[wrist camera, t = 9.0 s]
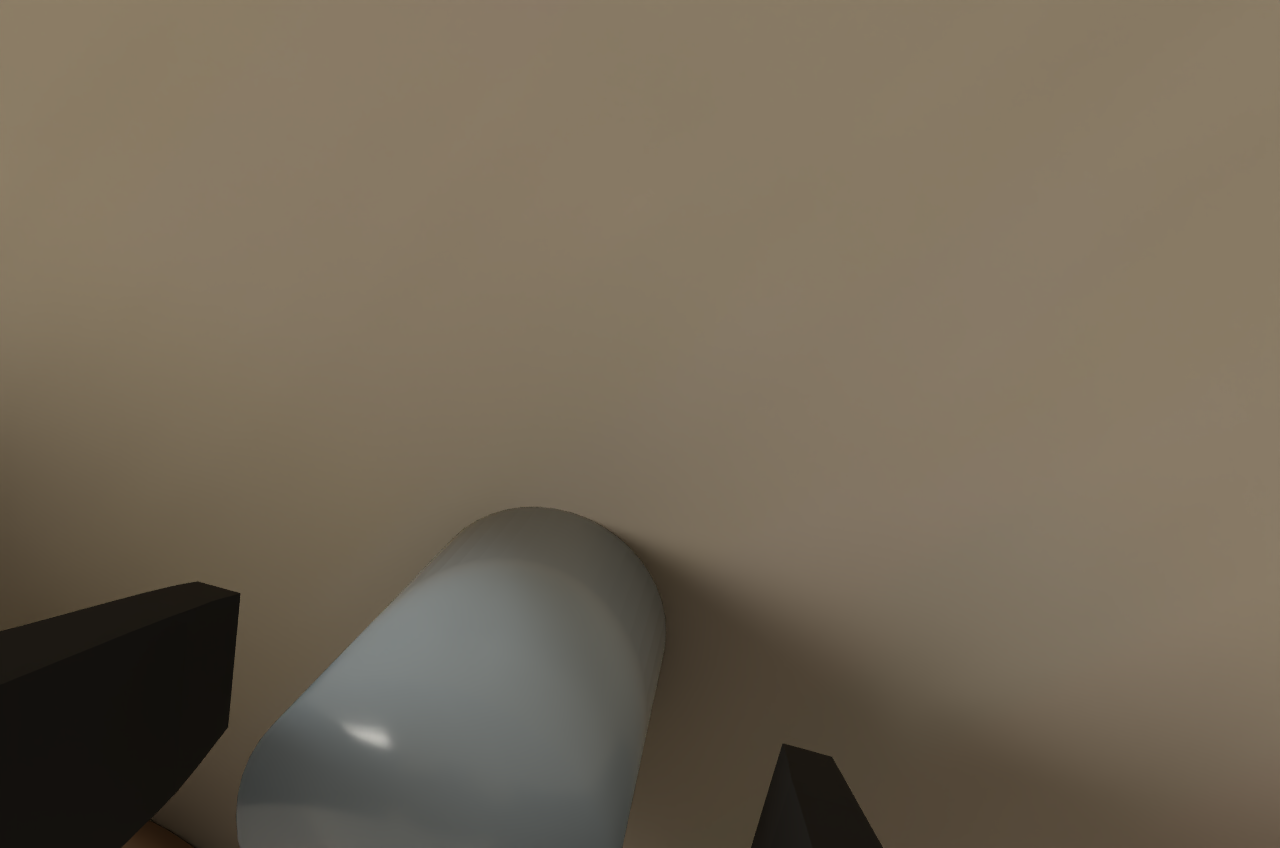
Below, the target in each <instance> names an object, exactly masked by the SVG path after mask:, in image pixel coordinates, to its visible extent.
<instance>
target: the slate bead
mask: <svg viewBox="0 0 1280 848" xmlns="http://www.w3.org/2000/svg"><path fill="white" fill-rule="evenodd" d="M665 641H666V623H665V614H664V610H663V605H662V601H661V598H660V595H659V593H658V590H657V587H656V585H655V583H654V581H653V579H652V577H651V575H650V573H649V572H648V570H647V569H646V567H645V566H644V564H643V563H642V562H641V560H640V559H639V558H638V557H637V555H636V554H635V553H634V552H633V551H632V550H631V549H630V548H629V546H627V545H626V544H625V543H624V542H623V541H622V540H620V539H619V538H618V537H617V536H616V535H614V534H613V533H611V532H610V531H608V530H607V529H606V528H604V527H603V526H601V525H599V524H597V523H595V522H593V521H591V520H589V519H587V518H585V517H582V516H579V515H576V514H574V513H571V512H567V511H562V510H558V509H553V508H543V507H520V508H514V509H508V510H503V511H500V512H497V513H493V514H490V515H488V516H486V517H484V518H481V519H479V520H477V521H475V522H474V523H472V524H471V525H469V526H467V527H466V528H464V529H463V530H462V531H461V532H460V533H458V534H457V535H456V536H455V537H454V538H453V539H452V540H451V541H450V542H449V543H448V544H447V545H446V546H445V547H444V548H443V549H442V550H441V551H440V552H439V553H438V554H437V555H436V556H435V557H434V558H433V559H432V560H431V561H430V562H429V563H428V564H427V566H426V567H425V568H424V569H423V570H422V571H421V572H420V573H419V574H418V575H417V576H416V577H415V578H414V579H413V580H412V581H411V582H410V583H409V584H408V585H407V586H406V587H405V588H404V589H403V590H402V591H401V592H400V593H399V594H398V596H397V597H396V598H395V599H394V600H393V601H392V602H391V603H390V604H389V605H388V606H387V607H386V608H385V609H384V610H383V611H382V612H381V613H380V614H379V615H378V616H377V617H376V618H375V619H374V620H373V621H372V622H371V623H370V625H369V626H368V627H367V628H366V629H365V630H364V631H363V632H362V633H361V634H360V635H359V636H358V637H357V638H356V639H355V640H354V641H353V642H352V643H351V644H350V645H349V646H348V647H347V648H346V649H345V650H344V651H343V652H342V653H341V655H340V656H339V657H338V658H337V659H336V660H335V661H334V662H333V663H332V664H331V665H330V666H329V667H328V668H327V669H326V670H325V671H324V672H323V673H322V674H321V675H320V676H319V677H318V678H317V679H316V680H315V681H314V682H313V684H312V685H311V686H310V687H309V688H308V689H307V690H306V691H305V692H304V693H303V694H302V695H301V696H300V697H299V698H298V699H297V700H296V701H295V702H294V703H293V704H292V705H291V706H290V707H289V708H288V709H287V710H286V711H285V712H284V714H283V715H282V716H281V717H280V718H279V719H278V720H277V721H276V722H275V723H274V724H273V725H272V726H271V727H270V729H269V730H268V731H267V732H266V733H265V734H264V736H263V737H262V738H261V739H260V741H259V743H258V744H257V746H256V747H255V749H254V751H253V752H252V754H251V756H250V758H249V760H248V763H247V765H246V768H245V770H244V773H243V775H242V779H241V783H240V788H239V792H238V798H237V812H236V821H237V835H238V841H239V846H240V848H622V846H623V842H624V837H625V832H626V828H627V823H628V818H629V814H630V809H631V804H632V799H633V795H634V790H635V785H636V781H637V776H638V771H639V767H640V762H641V757H642V753H643V748H644V743H645V739H646V734H647V729H648V725H649V720H650V715H651V711H652V706H653V701H654V697H655V692H656V687H657V682H658V678H659V673H660V668H661V664H662V659H663V654H664V650H665Z"/></svg>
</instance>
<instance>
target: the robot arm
mask: <svg viewBox="0 0 1280 848" xmlns="http://www.w3.org/2000/svg"><path fill="white" fill-rule="evenodd" d="M239 603H240V593H237V592H234V591H230V590H227V589H223V588H219V587H216V586H212V585H208V584H205V583H201V582H192V583H186V584H181V585H176V586H171V587H167V588H163V589H158V590H154V591H150V592H146V593H142V594H138V595H135V596H131V597H127V598H123V599H120V600H116V601H112V602H108V603H105V604H101V605H97V606H94V607H90V608H86V609H83V610H79V611H75V612H71V613H68V614H64V615H60V616H57V617H53V618H49V619H46V620H42V621H38V622H34V623H31V624H27V625H23V626H20V627H16V628H12V629H8V630H4V631H0V848H122V847H123V846H124V845H125V844H126V843H127V842H128V841H129V840H130V839H131V838H132V837H133V836H134V835H135V834H136V833H137V832H138V831H139V830H140V829H141V828H142V827H143V826H144V825H145V824H146V823H147V822H148V821H149V820H150V819H151V818H152V817H153V816H154V815H155V814H156V813H157V812H158V811H159V810H160V809H161V808H162V807H163V806H164V805H165V804H166V803H167V802H168V800H169V799H170V798H171V797H172V796H173V795H174V794H175V793H176V792H177V791H178V790H179V788H180V787H181V786H182V785H183V783H184V782H185V781H186V780H187V779H188V777H189V776H190V775H191V774H192V773H193V771H194V770H195V769H196V768H197V766H198V765H199V764H200V763H201V761H202V760H203V759H204V758H205V756H206V755H207V754H208V752H209V751H210V750H211V748H212V747H213V746H214V744H215V743H216V742H217V741H218V739H219V738H220V737H221V735H222V734H223V733H224V731H225V730H226V729H227V728H228V722H229V711H230V700H231V689H232V679H233V668H234V657H235V646H236V635H237V625H238V614H239ZM751 848H883V847H882V845H881V843H880V842H879V840H878V838H877V836H876V835H875V833H874V831H873V829H872V828H871V826H870V824H869V822H868V821H867V819H866V817H865V815H864V813H863V812H862V810H861V808H860V806H859V804H858V803H857V801H856V799H855V797H854V795H853V794H852V792H851V790H850V788H849V786H848V785H847V783H846V781H845V779H844V777H843V776H842V774H841V772H840V770H839V769H838V767H837V765H836V763H835V762H834V760H833V758H832V757H830V756H826V755H823V754H819V753H816V752H812V751H808V750H805V749H801V748H797V747H794V746H790V745H787V744H782V747H781V751H780V754H779V757H778V761H777V764H776V767H775V771H774V774H773V777H772V780H771V784H770V787H769V790H768V794H767V797H766V800H765V804H764V807H763V810H762V813H761V817H760V820H759V823H758V827H757V830H756V833H755V836H754V840H753V843H752V846H751Z"/></svg>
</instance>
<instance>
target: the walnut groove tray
mask: <svg viewBox="0 0 1280 848" xmlns="http://www.w3.org/2000/svg"><path fill="white" fill-rule="evenodd" d="M122 848H194V847H193V846H191V845H189V844H188V843H186V842H185V841H183V840H182V839H180V838H179V837H177V836H176V835H174V834H173V833H171V832H170V831H168V830H167V829H165V828H163V827H161V826H159V825H157V824H155V823H153V822H151V821H148V822H147V823H146V824H145V825H144V826H143V827H142V828H141V829H140V830H139V831H138V832H137V833H136V834H135V835H134V836H133V837H132V838H131V839H130V840H129V841H128V842H127V843H126V844H125V845H124V846H123V847H122Z"/></svg>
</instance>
